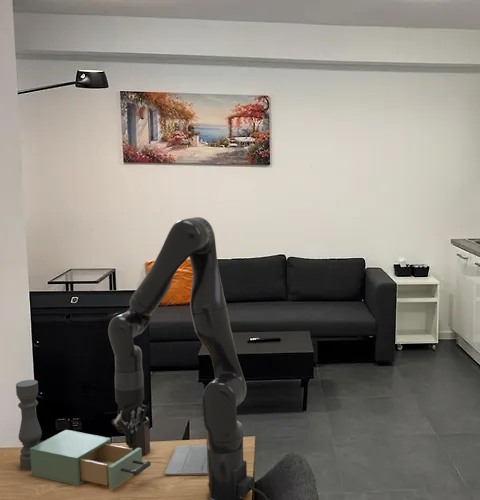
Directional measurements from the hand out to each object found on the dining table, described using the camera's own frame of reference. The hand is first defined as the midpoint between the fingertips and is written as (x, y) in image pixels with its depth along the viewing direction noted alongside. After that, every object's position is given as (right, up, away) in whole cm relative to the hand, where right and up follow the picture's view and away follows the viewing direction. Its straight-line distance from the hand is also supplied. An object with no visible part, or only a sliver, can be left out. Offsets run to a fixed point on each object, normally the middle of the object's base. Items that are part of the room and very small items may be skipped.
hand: (131, 444), depth 179 cm
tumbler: (-4, -8, +20) cm, 22 cm away
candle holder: (-33, -10, +11) cm, 36 cm away
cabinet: (-20, -10, +9) cm, 24 cm away
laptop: (+13, -10, +15) cm, 22 cm away
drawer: (-6, -10, +4) cm, 12 cm away
